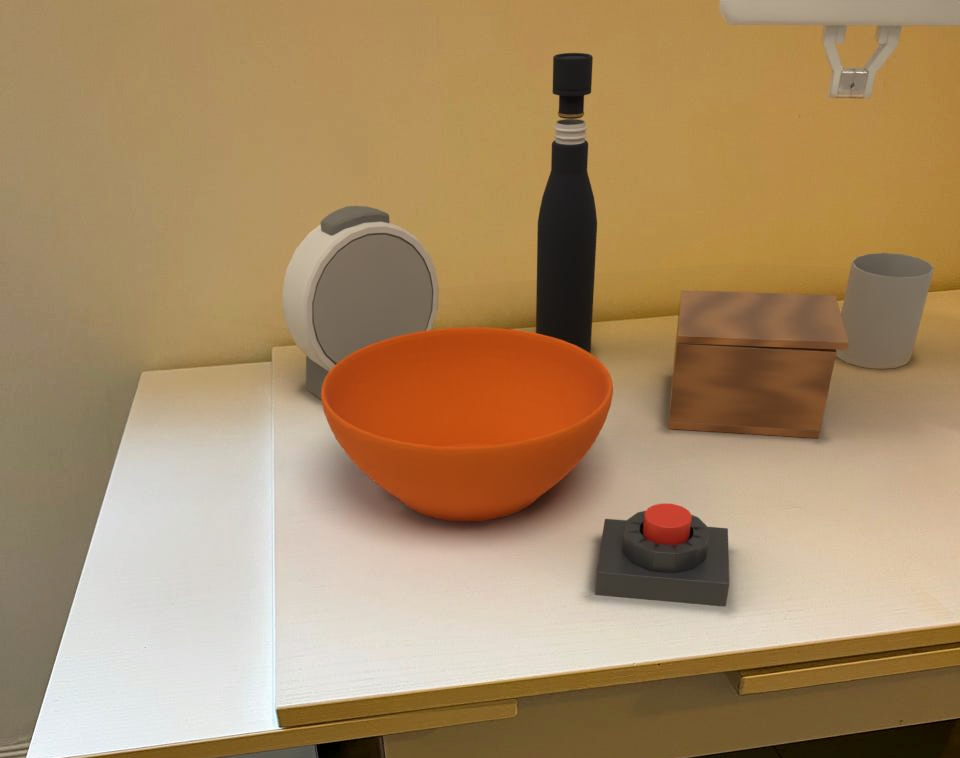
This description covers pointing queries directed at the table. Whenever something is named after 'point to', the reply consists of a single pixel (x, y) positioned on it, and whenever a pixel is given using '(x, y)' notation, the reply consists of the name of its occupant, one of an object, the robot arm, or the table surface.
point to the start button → (667, 524)
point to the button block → (663, 564)
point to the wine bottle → (568, 215)
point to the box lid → (761, 320)
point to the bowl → (467, 416)
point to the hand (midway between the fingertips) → (848, 97)
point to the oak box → (750, 389)
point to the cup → (884, 309)
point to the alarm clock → (356, 288)
